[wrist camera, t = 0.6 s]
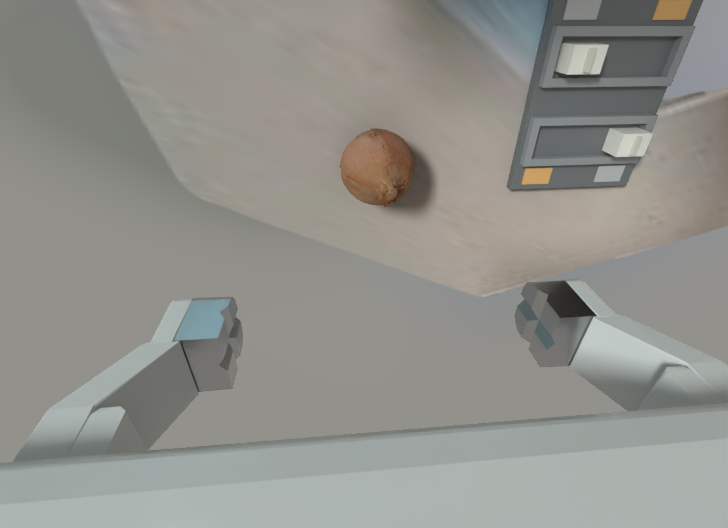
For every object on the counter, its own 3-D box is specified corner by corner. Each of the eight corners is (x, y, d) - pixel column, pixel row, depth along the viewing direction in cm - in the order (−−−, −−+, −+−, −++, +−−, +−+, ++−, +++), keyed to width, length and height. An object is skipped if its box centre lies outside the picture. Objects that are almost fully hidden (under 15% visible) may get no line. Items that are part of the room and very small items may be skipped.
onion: (390, 165, 55) (420, 213, 50) (330, 178, 53) (355, 230, 48) (400, 106, 48) (437, 156, 43) (329, 118, 45) (359, 172, 40)
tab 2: (609, 128, 51) (627, 135, 48) (637, 127, 51) (656, 134, 48) (601, 150, 53) (618, 158, 50) (628, 149, 53) (646, 157, 50)
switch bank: (552, -15, 42) (563, -16, 41) (700, -14, 44) (716, -15, 42) (506, 186, 56) (512, 192, 54) (620, 182, 57) (630, 188, 55)
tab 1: (561, 42, 45) (578, 45, 42) (593, 42, 45) (612, 45, 42) (553, 71, 46) (570, 75, 43) (584, 70, 47) (602, 75, 44)
